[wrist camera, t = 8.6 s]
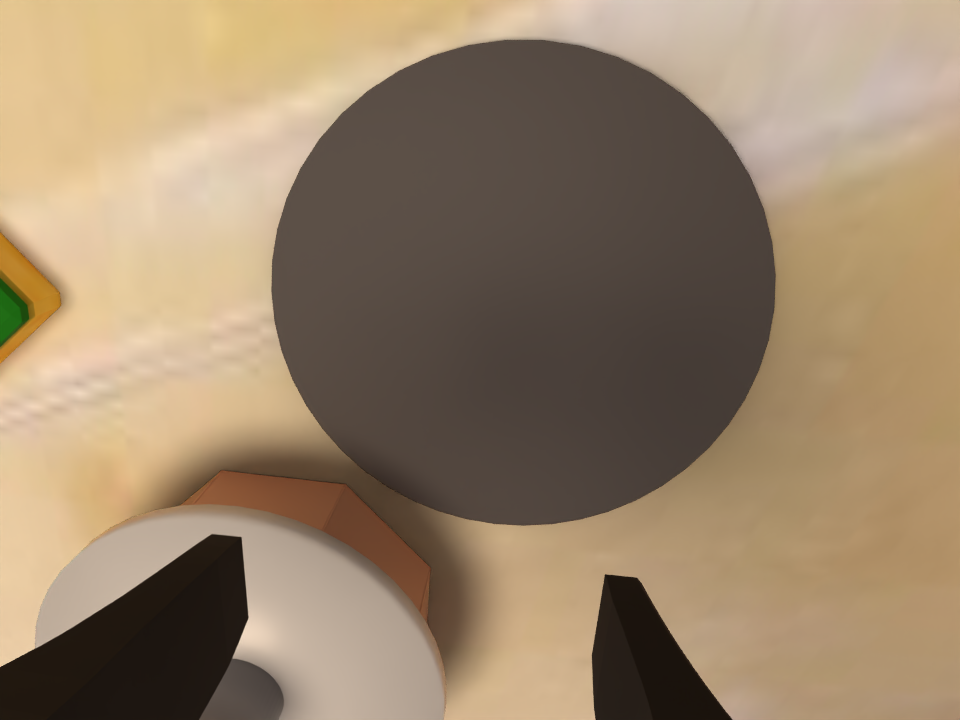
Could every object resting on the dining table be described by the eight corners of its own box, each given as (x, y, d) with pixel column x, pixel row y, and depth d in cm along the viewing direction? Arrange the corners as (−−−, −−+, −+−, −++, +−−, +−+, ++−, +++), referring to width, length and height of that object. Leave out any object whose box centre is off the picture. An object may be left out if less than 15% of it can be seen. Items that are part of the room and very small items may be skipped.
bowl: (435, 493, 25) (417, 564, 21) (421, 719, 29) (404, 811, 25) (134, 460, 25) (64, 523, 21) (165, 686, 29) (110, 771, 26)
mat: (832, 63, 18) (838, 62, 18) (713, 542, 24) (716, 549, 24) (265, 20, 19) (260, 18, 19) (284, 493, 25) (280, 499, 25)
